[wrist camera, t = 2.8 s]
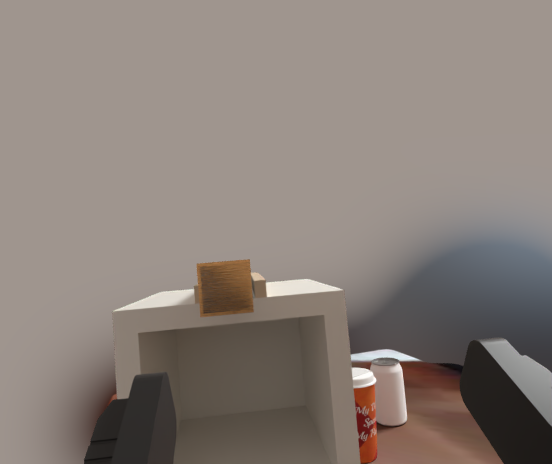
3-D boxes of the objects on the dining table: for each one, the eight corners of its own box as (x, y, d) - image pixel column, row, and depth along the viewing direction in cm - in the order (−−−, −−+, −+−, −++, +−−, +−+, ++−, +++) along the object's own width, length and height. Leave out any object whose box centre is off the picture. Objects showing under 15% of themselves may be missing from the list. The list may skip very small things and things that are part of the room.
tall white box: (328, 518, 53) (306, 268, 55) (380, 673, 33) (342, 273, 35) (177, 540, 51) (160, 280, 53) (135, 718, 31) (111, 293, 33)
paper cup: (371, 471, 63) (363, 382, 64) (330, 459, 68) (322, 376, 69) (391, 450, 69) (383, 369, 70) (352, 440, 74) (345, 364, 75)
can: (370, 424, 80) (364, 364, 81) (380, 412, 86) (374, 356, 87) (403, 429, 77) (396, 366, 78) (410, 416, 83) (404, 358, 83)
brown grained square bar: (248, 286, 49) (246, 259, 50) (253, 312, 25) (249, 259, 26) (221, 289, 49) (219, 261, 49) (200, 317, 25) (196, 263, 25)
